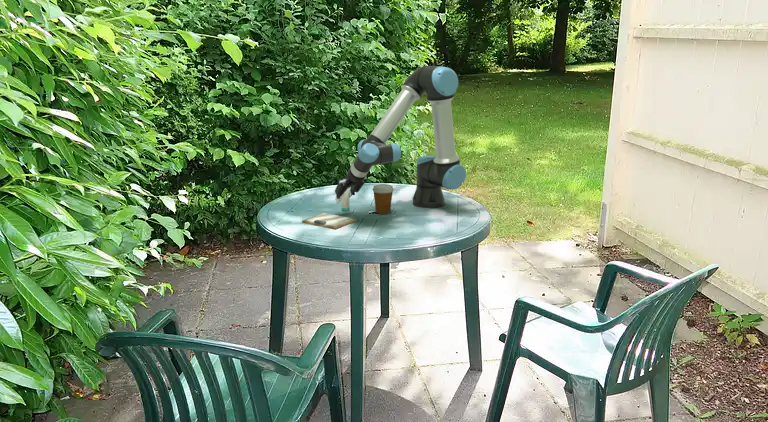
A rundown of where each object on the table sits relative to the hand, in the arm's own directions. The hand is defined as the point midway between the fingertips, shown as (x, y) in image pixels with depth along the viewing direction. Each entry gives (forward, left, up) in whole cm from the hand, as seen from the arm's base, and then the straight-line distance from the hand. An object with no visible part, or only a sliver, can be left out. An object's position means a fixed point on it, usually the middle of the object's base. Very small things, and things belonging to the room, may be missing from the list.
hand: (341, 200), depth 279 cm
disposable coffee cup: (-16, -11, -6) cm, 20 cm away
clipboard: (-5, +14, -6) cm, 16 cm away
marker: (-4, +2, -4) cm, 5 cm away
